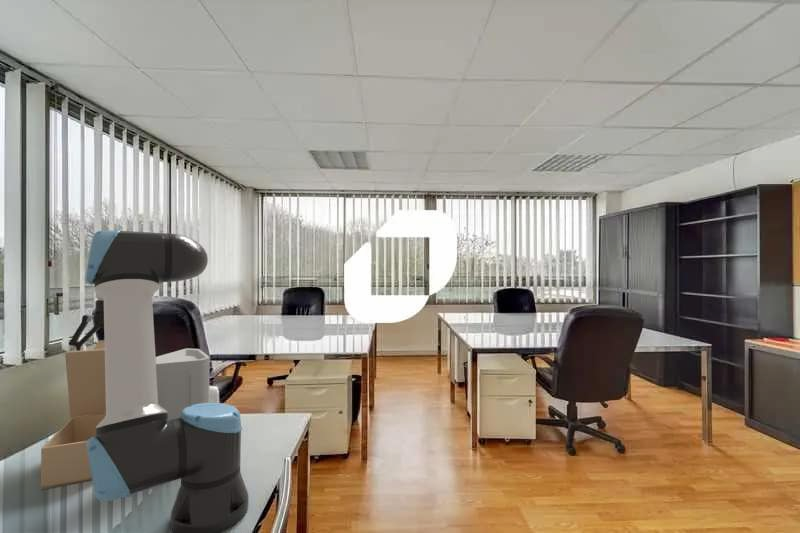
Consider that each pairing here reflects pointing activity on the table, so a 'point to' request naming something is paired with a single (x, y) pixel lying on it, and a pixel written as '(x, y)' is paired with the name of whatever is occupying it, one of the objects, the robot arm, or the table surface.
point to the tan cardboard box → (86, 380)
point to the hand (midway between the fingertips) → (109, 364)
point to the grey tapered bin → (182, 380)
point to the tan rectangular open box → (68, 453)
